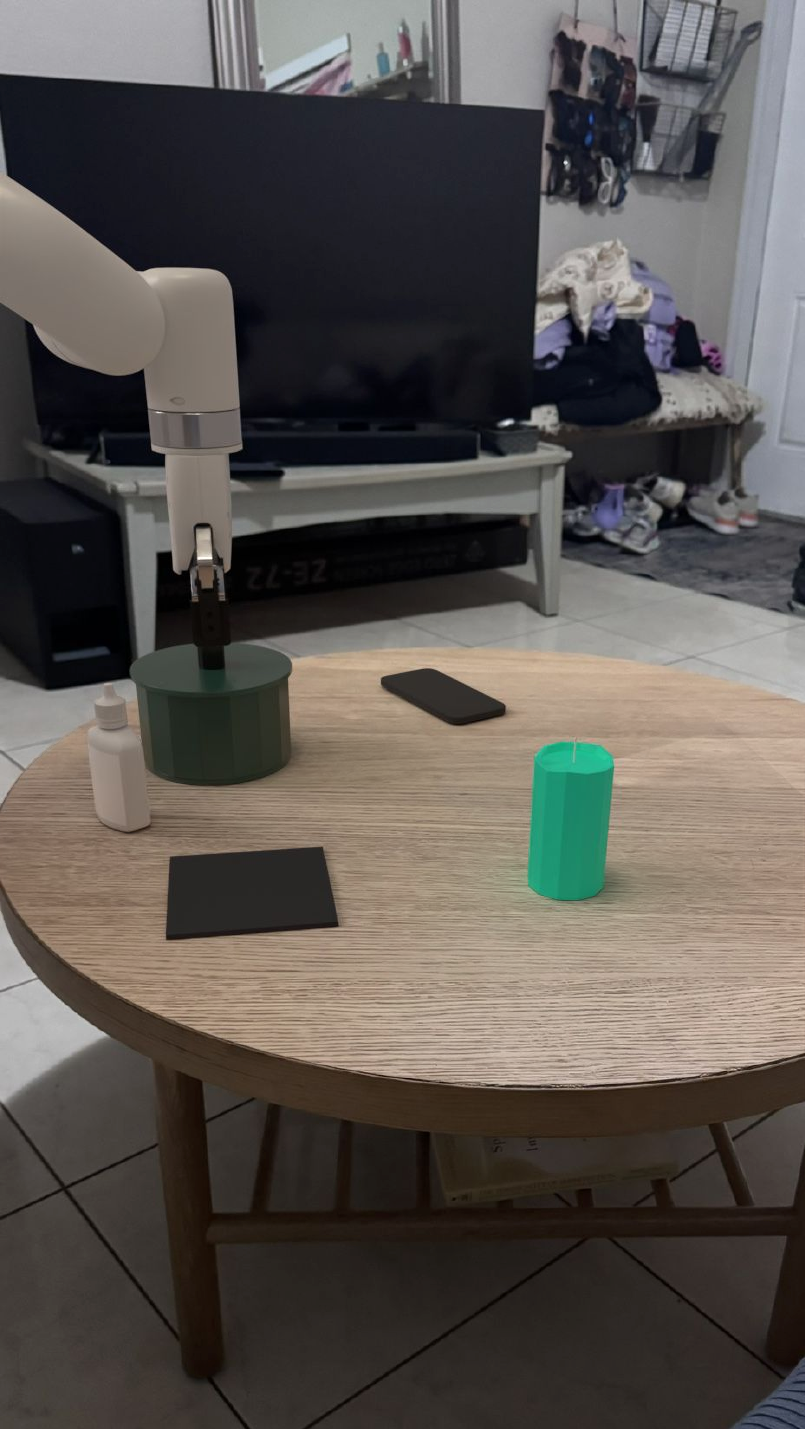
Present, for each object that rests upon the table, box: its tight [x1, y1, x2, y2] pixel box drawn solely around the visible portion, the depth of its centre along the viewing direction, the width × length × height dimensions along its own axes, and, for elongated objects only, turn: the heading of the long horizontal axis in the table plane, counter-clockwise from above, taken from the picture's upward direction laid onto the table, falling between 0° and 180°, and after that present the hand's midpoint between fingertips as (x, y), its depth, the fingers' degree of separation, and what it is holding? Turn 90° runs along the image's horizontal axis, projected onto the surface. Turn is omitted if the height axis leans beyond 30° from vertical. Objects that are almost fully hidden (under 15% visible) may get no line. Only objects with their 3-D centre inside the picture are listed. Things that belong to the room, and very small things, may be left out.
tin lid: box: [129, 642, 293, 698], centre depth 106 cm, size 15×15×6 cm
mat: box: [165, 846, 339, 941], centre depth 87 cm, size 12×12×1 cm
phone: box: [380, 667, 507, 725], centre depth 126 cm, size 7×1×15 cm
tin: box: [135, 677, 292, 786], centre depth 109 cm, size 14×14×8 cm
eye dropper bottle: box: [86, 682, 152, 833], centre depth 95 cm, size 4×6×12 cm
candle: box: [526, 736, 615, 901], centre depth 88 cm, size 6×6×12 cm
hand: (212, 628), depth 105 cm, fingers open, 9 cm apart
